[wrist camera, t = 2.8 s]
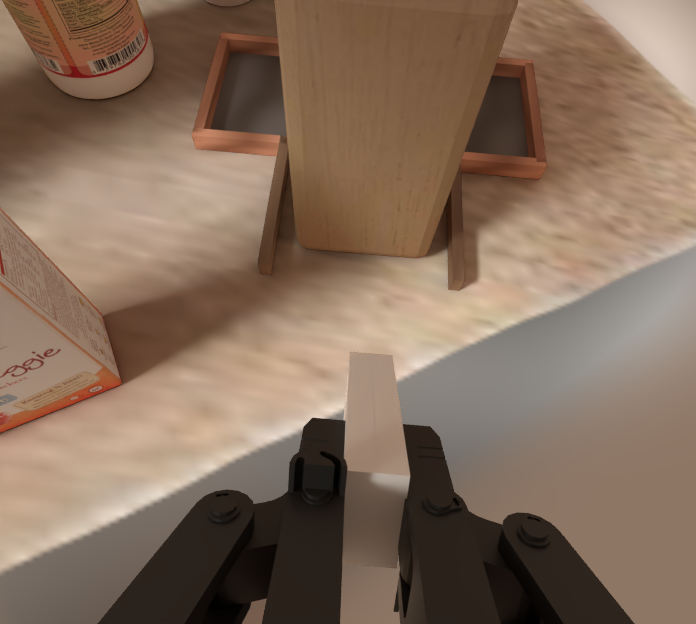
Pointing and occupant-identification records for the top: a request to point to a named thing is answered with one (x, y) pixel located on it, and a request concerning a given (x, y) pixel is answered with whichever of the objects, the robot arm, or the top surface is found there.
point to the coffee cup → (227, 2)
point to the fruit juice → (87, 43)
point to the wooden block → (381, 113)
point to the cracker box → (45, 335)
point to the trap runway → (271, 137)
